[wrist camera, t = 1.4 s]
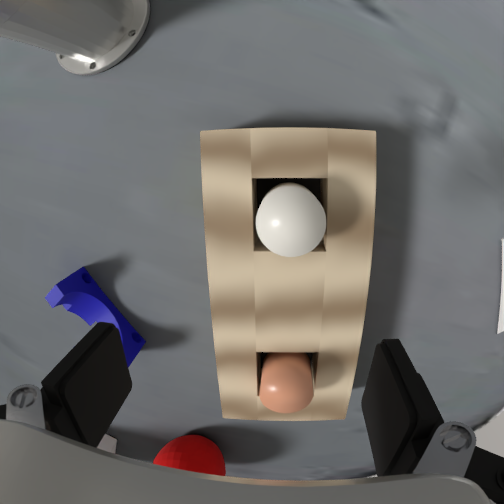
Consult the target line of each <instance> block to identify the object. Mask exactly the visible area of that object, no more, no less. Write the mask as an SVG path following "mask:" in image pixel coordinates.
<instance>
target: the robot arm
mask: <svg viewBox="0 0 504 504" xmlns="http://www.w3.org/2000/svg"><path fill="white" fill-rule="evenodd" d="M149 16H150V3H149V0H0V37H3V38H7V39H11V40H14V41H18V42H22V43H25V44H29V45H32V46H35V47H39V48H42V49H45V50H48V51H51V52H54V53H56V57H57V59H58V62H59V63H60V65H61V66H62V67H63V68H64V69H65V70H67V71H68V72H71V73H74V74H78V75H93V74H97V73H100V72H103V71H105V70H107V69H109V68H111V67H112V66H114V65H116V64H117V63H118V62H120V61H121V60H122V59H123V58H124V57H126V56H127V55H128V53H129V52H130V51H131V50H132V49H133V48H134V47H135V45H136V44H137V43H138V41H139V40H140V38H141V37H142V35H143V33H144V31H145V29H146V26H147V24H148V21H149ZM41 384H42V386H43V387H42V388H41V390H40V389H39V388H38V387H37V386H34V385H30V384H25V385H21V386H18V387H16V388H14V389H13V390H12V391H11V392H10V393H9V395H8V397H7V404H5V405H0V504H504V458H503V457H501V456H498V455H496V454H493V453H491V452H488V451H486V450H484V449H481V448H479V447H477V446H475V445H476V437H475V433H474V432H473V430H472V429H471V428H470V427H469V426H467V425H465V424H463V423H461V422H456V421H450V422H446V423H444V420H443V418H442V416H441V414H440V412H439V410H438V408H437V406H436V404H435V402H434V400H433V398H432V396H431V394H430V392H429V390H428V388H427V386H426V384H425V382H424V380H423V378H422V376H421V375H420V374H419V373H417V372H416V370H415V368H414V366H413V364H412V362H411V360H410V358H409V357H408V355H407V353H406V351H405V349H404V347H403V346H402V344H401V342H400V340H399V339H383V340H382V342H381V343H379V344H377V346H376V349H375V353H374V357H373V361H372V365H371V369H370V373H369V376H368V380H367V383H366V387H365V390H364V394H363V397H362V411H363V415H364V419H365V423H366V427H367V431H368V436H369V440H370V445H371V449H372V454H373V458H374V463H375V467H376V472H377V476H378V477H370V478H359V479H344V480H319V481H284V480H262V479H248V478H237V477H227V476H219V475H212V474H205V473H198V472H192V471H186V470H181V469H176V468H171V467H166V466H161V465H157V464H152V463H148V462H144V461H140V460H136V459H132V458H128V457H125V456H121V455H118V454H114V453H111V452H108V451H105V450H101V449H98V448H97V447H98V445H99V443H100V442H101V440H102V438H103V436H104V435H105V433H106V431H107V430H108V428H109V426H110V424H111V423H112V421H113V419H114V418H115V416H116V414H117V413H118V411H119V409H120V408H121V406H122V404H123V403H124V401H125V399H126V398H127V396H128V394H129V393H130V391H131V388H132V381H131V377H130V373H129V369H128V366H127V362H126V357H125V353H124V349H123V345H122V340H121V336H120V331H119V329H118V328H116V326H115V325H114V324H113V323H107V322H98V323H97V324H96V325H95V326H94V327H93V328H92V329H91V330H90V331H89V332H88V333H87V334H86V335H85V336H84V337H83V338H82V339H81V340H80V342H79V343H78V344H77V345H76V346H75V347H74V348H73V349H72V350H71V351H70V352H69V353H68V354H67V355H66V356H65V357H64V358H63V359H62V360H61V361H60V362H59V363H58V364H57V365H56V367H55V368H54V369H53V370H52V371H51V372H50V373H49V374H48V375H47V376H46V377H45V378H44V379H43V380H42V382H41Z"/></svg>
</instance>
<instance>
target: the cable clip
mask: <svg viewBox="0 0 504 504" xmlns="http://www.w3.org/2000/svg"><path fill="white" fill-rule="evenodd" d="M45 299H46V300H47V301H48V303H49V304H50V305H51V307H52V308H54V307H55V306H58V305H61V304H62V305H63V306H64V307H65V309H66V310H67V311H70V312H73V313H75V314H77V315H78V316H80V317H81V318H82V319H84V320H85V321H86V322H87V323H88V324H89V325H92V324H93V323H94V322H95V321H97V323H98V322H107V323H113V324H114V325H115V326H116V328H118V329H119V331H120V336H121V340H122V345H123V349H124V353H125V357H126V362H127V366H128V367H129V366H130V364H131V363H132V361H133V360H134V358H135V357H136V356H137V354H138V353H139V351H140V350H141V348H142V347H143V345H144V344H145V342H146V341H145V340H144V339H143V338H142V337H141V336H140V335H139V333H138V332H137V331H136V330H135V329H134V328H133V327H132V326H131V324H130V323H129V322H128V321H127V320H126V319H125V318H124V316H123V315H122V314H121V313H120V312H119V310H118V309H117V308H116V307H115V306H114V304H113V303H112V302H111V301H110V300H109V298H108V297H107V296H106V295H105V293H104V292H103V291H102V290H101V288H100V287H99V286H98V285H97V283H96V282H95V281H94V279H93V278H92V277H91V276H90V274H89V273H88V272H87V270H86V269H85V268H84V267H82V268H80V269H79V270H77V271H76V272H74V273H73V274H71V275H70V276H68V277H67V278H65V279H63V280H62V281H60V282H59V283H57V284H56V285H55V286H54V287H53V289H52V290H51V291H50V292H49V293H48V295H47V296H46V297H45Z"/></svg>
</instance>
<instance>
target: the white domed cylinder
mask: <svg viewBox="0 0 504 504" xmlns="http://www.w3.org/2000/svg"><path fill="white" fill-rule="evenodd" d="M256 229H257V233H258V236H259V238H260V240H261V241H262V243H263V244H264V245H265V246H266V247H267V248H268V249H269V250H270V251H272V252H273V253H275V254H278V255H281V256H285V257H297V256H302V255H304V254H307V253H309V252H310V251H312V250H313V249H314V248H315V247H316V246H317V245H318V244H319V243H320V241H321V240H322V238H323V236H324V233H325V230H326V215H325V212H324V209H323V207H322V205H321V204H320V202H319V201H318V200H317V198H316V197H315V196H314V195H313V194H312V192H311V191H310V190H309V189H307V188H306V187H304V186H303V185H300V184H297V183H291V182H288V183H281V184H279V185H276V186H274V187H273V188H271V189H270V190H269V191H268V192H267V193H266V195H265V196H264V198H263V200H262V202H261V205H260V207H259V209H258V212H257V215H256Z"/></svg>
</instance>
